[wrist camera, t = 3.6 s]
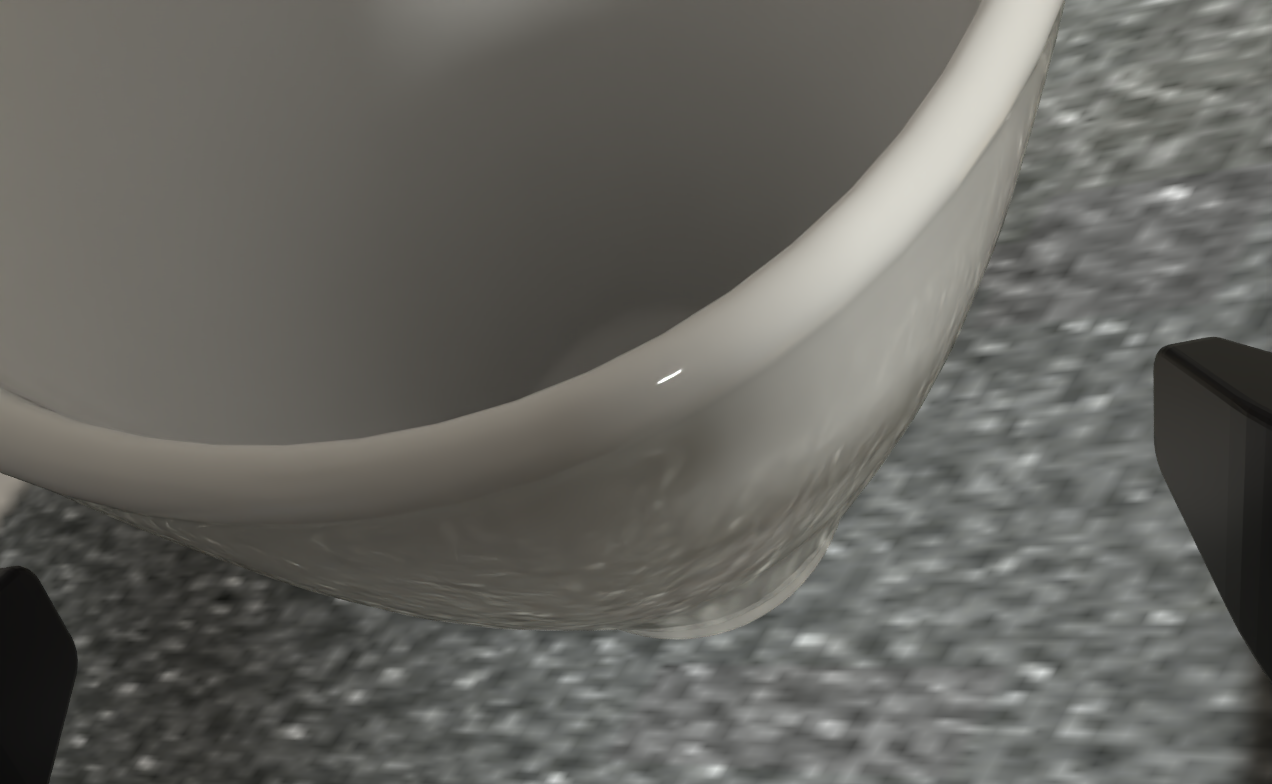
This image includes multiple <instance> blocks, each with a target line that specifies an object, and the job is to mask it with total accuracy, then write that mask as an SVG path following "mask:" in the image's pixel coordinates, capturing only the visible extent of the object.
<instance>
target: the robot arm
mask: <svg viewBox="0 0 1272 784" xmlns="http://www.w3.org/2000/svg"><path fill="white" fill-rule="evenodd" d="M1153 374H1154V446H1155V453H1156V457H1157V461H1158V464H1159V467H1160V470H1161V472H1162V475H1163V477H1164V479H1165V481H1166V483H1167V485H1168V487H1169V489H1170V491H1171V494H1172V496H1173V498H1174V500H1175V502H1176V504H1177V506H1178V508H1179V510H1180V512H1181V514H1182V516H1183V518H1184V521H1185V523H1186V525H1187V527H1188V529H1189V531H1190V533H1191V535H1192V537H1193V539H1194V541H1195V543H1196V545H1197V547H1198V550H1199V552H1200V554H1201V556H1202V558H1203V560H1204V562H1205V564H1206V566H1207V568H1208V570H1209V572H1210V574H1211V577H1212V579H1213V581H1214V583H1215V585H1216V587H1217V589H1218V591H1219V593H1220V595H1221V597H1222V599H1223V601H1224V603H1225V606H1226V607H1227V609H1228V611H1229V613H1230V615H1231V617H1232V619H1233V621H1234V623H1235V625H1236V627H1237V629H1238V631H1239V632H1240V634H1241V636H1242V637H1243V639H1244V641H1245V642H1246V644H1247V646H1248V647H1249V649H1250V651H1251V652H1252V654H1253V656H1254V657H1255V659H1256V660H1257V662H1258V664H1259V665H1260V667H1261V668H1262V670H1263V671H1264V673H1265V674H1266V676H1267V677H1268V679H1269V680H1270V682H1271V684H1272V353H1271V352H1268V351H1264V350H1261V349H1257V348H1254V347H1250V346H1247V345H1243V344H1240V343H1236V342H1233V341H1229V340H1226V339H1223V338H1219V337H1206V338H1201V339H1196V340H1191V341H1185V342H1180V343H1175V344H1170V345H1167V346H1164V347H1162V348H1161V349H1160V350H1159V352H1158V353H1157V355H1156V358H1155V362H1154V371H1153ZM77 663H78V658H77V651H76V647H75V644H74V641H73V639H72V637H71V635H70V633H69V632H68V630H67V628H66V626H65V625H64V623H63V621H62V619H61V618H60V616H59V614H58V612H57V610H56V609H55V607H54V605H53V603H52V602H51V600H50V598H49V596H48V595H47V593H46V591H45V589H44V588H43V586H42V584H41V582H40V581H39V579H38V578H37V576H36V575H35V574H34V573H33V572H31V571H30V570H29V569H27V568H24V567H21V566H11V567H6V568H0V784H49V781H50V777H51V773H52V769H53V765H54V761H55V757H56V753H57V749H58V745H59V741H60V737H61V733H62V729H63V725H64V721H65V717H66V713H67V709H68V706H69V702H70V698H71V694H72V690H73V686H74V682H75V678H76V674H77Z"/></svg>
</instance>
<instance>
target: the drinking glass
mask: <svg viewBox="0 0 1272 784" xmlns="http://www.w3.org/2000/svg"><path fill="white" fill-rule="evenodd" d="M1065 1H1066V0H0V472H1V473H3V474H5V475H8V476H11V477H14V478H17V479H19V480H22V481H25V482H28V483H31V484H33V485H36V486H39V487H42V488H45V489H47V490H50V491H52V492H55V493H57V494H59V495H62V496H64V497H66V498H69V499H71V500H73V501H76V502H78V503H80V504H83V505H85V506H87V507H89V508H92V509H94V510H96V511H99V512H101V513H103V514H106V515H108V516H110V517H113V518H115V519H117V520H120V521H122V522H125V523H127V524H129V525H132V526H134V527H137V528H139V529H141V530H144V531H146V532H149V533H151V534H154V535H156V536H159V537H161V538H164V539H166V540H169V541H171V542H174V543H177V544H179V545H182V546H184V547H187V548H189V549H192V550H195V551H197V552H200V553H203V554H206V555H209V556H211V557H214V558H217V559H220V560H223V561H225V562H228V563H231V564H234V565H236V566H239V567H242V568H245V569H248V570H250V571H253V572H256V573H259V574H262V575H264V576H267V577H270V578H273V579H276V580H279V581H281V582H284V583H287V584H291V585H294V586H297V587H300V588H303V589H307V590H310V591H313V592H316V593H320V594H323V595H327V596H331V597H335V598H338V599H342V600H346V601H350V602H354V603H358V604H362V605H366V606H370V607H374V608H379V609H383V610H387V611H391V612H395V613H399V614H403V615H408V616H413V617H419V618H424V619H429V620H435V621H442V622H450V623H457V624H465V625H472V626H480V627H489V628H497V629H517V630H550V631H594V630H622V631H625V632H627V633H631V634H636V635H640V636H644V637H651V638H658V639H693V638H701V637H707V636H713V635H717V634H720V633H724V632H728V631H731V630H734V629H736V628H739V627H741V626H744V625H746V624H748V623H750V622H752V621H754V620H756V619H758V618H760V617H762V616H764V615H765V614H767V613H768V612H770V611H771V610H773V609H775V608H776V607H777V606H779V605H780V604H781V603H782V602H784V601H785V600H786V599H788V598H789V597H790V596H791V595H792V594H793V593H794V592H795V591H796V590H797V589H798V588H799V587H800V586H801V585H802V584H803V583H804V582H805V581H806V580H807V578H808V577H809V576H810V575H811V574H812V572H813V571H814V570H815V568H816V567H817V565H818V564H819V563H820V561H821V560H822V558H823V557H824V555H825V553H826V551H827V549H828V547H829V546H830V544H831V542H832V540H833V537H834V535H835V532H836V530H837V528H838V525H839V522H840V520H841V518H842V517H843V516H844V514H845V513H846V512H847V510H848V509H849V508H850V507H851V505H852V504H853V503H854V501H855V500H856V499H857V498H858V496H859V495H860V494H861V492H862V491H863V490H864V489H865V487H866V486H867V485H868V483H869V482H870V481H871V480H872V478H873V477H874V476H875V474H876V473H877V472H878V470H879V469H880V467H881V466H882V465H883V463H884V462H885V460H886V459H887V457H888V456H889V455H890V453H891V452H892V450H893V449H894V447H895V446H896V444H897V443H898V441H899V440H900V439H901V437H902V436H903V434H904V433H905V431H906V430H907V428H908V427H909V425H910V424H911V422H912V421H913V420H914V418H915V416H916V414H917V413H918V411H919V409H920V408H921V406H922V404H923V402H924V401H925V399H926V397H927V395H928V394H929V392H930V390H931V388H932V386H933V384H934V382H935V381H936V379H937V377H938V375H939V373H940V371H941V370H942V368H943V366H944V364H945V362H946V360H947V358H948V356H949V354H950V352H951V350H952V348H953V346H954V344H955V342H956V340H957V338H958V336H959V334H960V332H961V329H962V327H963V324H964V322H965V320H966V317H967V315H968V312H969V310H970V307H971V305H972V303H973V300H974V298H975V295H976V293H977V290H978V288H979V286H980V283H981V281H982V278H983V276H984V273H985V271H986V269H987V266H988V264H989V261H990V259H991V256H992V254H993V251H994V248H995V246H996V243H997V240H998V237H999V235H1000V232H1001V229H1002V226H1003V223H1004V221H1005V218H1006V215H1007V212H1008V208H1009V205H1010V202H1011V199H1012V196H1013V192H1014V189H1015V186H1016V183H1017V180H1018V176H1019V173H1020V170H1021V166H1022V163H1023V159H1024V156H1025V152H1026V149H1027V145H1028V142H1029V138H1030V135H1031V132H1032V128H1033V125H1034V121H1035V118H1036V114H1037V110H1038V107H1039V103H1040V100H1041V96H1042V92H1043V89H1044V85H1045V82H1046V78H1047V74H1048V70H1049V66H1050V62H1051V58H1052V54H1053V50H1054V47H1055V43H1056V39H1057V35H1058V30H1059V26H1060V22H1061V18H1062V14H1063V10H1064V5H1065Z"/></svg>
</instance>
